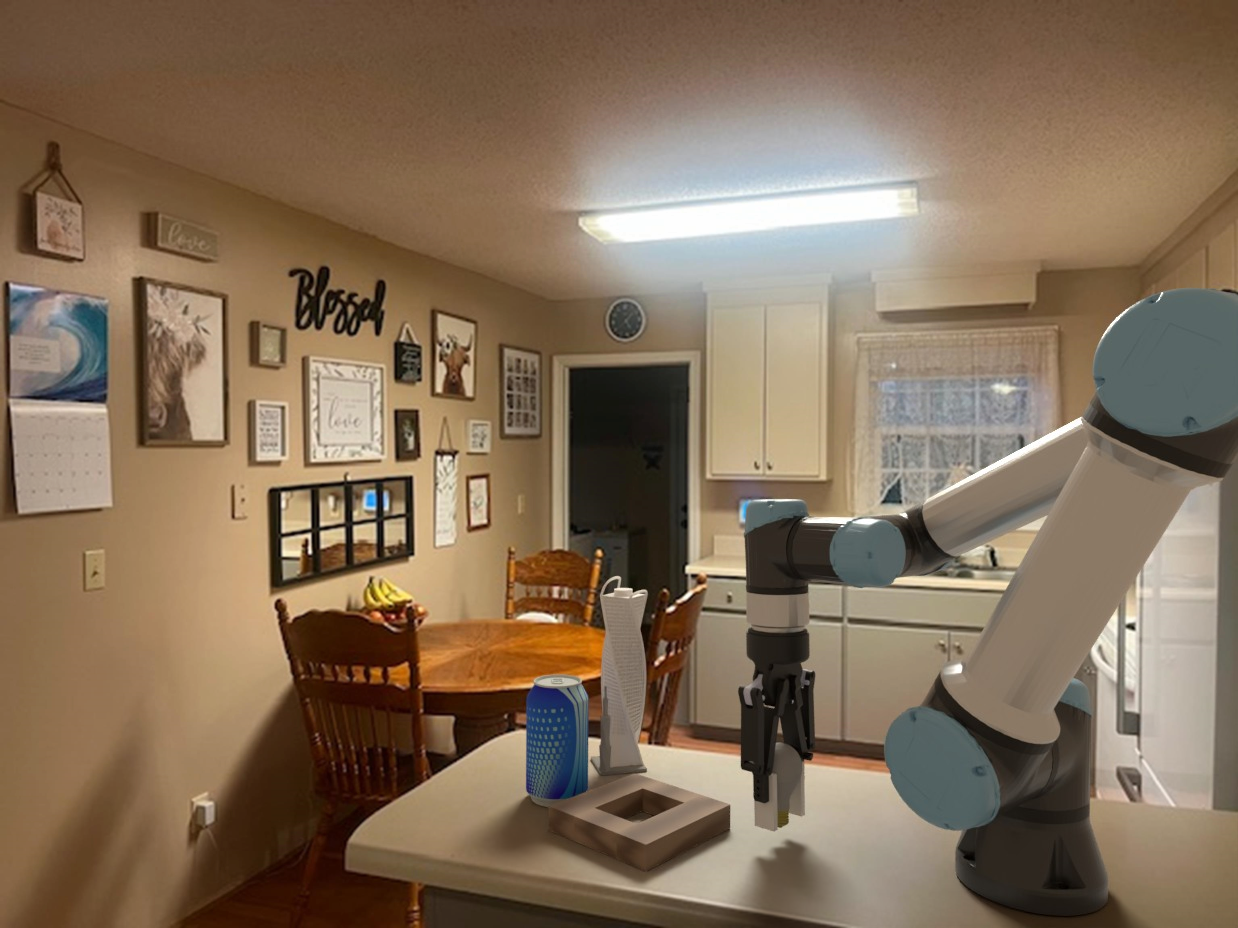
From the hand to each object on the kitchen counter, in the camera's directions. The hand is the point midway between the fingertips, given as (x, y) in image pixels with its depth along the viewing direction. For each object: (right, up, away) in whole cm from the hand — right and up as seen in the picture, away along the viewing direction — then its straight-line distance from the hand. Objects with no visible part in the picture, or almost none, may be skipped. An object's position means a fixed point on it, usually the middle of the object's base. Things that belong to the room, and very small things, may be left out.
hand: (780, 819), depth 106 cm
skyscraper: (-19, -3, +27) cm, 34 cm away
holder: (-17, -3, +3) cm, 17 cm away
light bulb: (0, -1, 0) cm, 1 cm away
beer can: (-28, -3, +14) cm, 31 cm away
